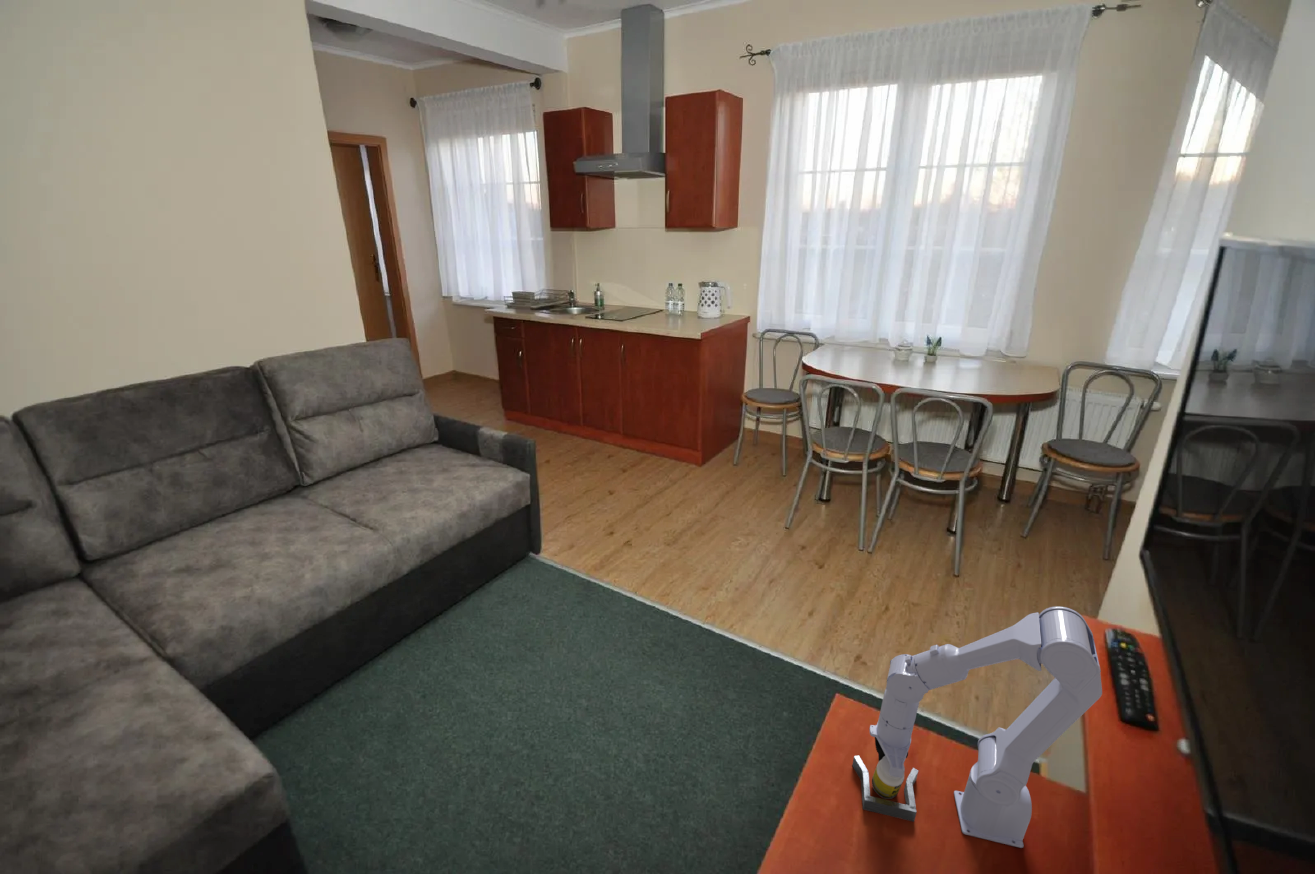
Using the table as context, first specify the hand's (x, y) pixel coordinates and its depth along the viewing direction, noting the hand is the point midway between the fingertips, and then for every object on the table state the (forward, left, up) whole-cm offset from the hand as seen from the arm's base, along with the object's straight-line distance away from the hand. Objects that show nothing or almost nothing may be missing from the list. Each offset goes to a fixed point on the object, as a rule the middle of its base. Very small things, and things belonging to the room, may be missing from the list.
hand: (885, 769), depth 109 cm
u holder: (0, +4, -2) cm, 4 cm away
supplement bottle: (0, +2, -2) cm, 3 cm away
